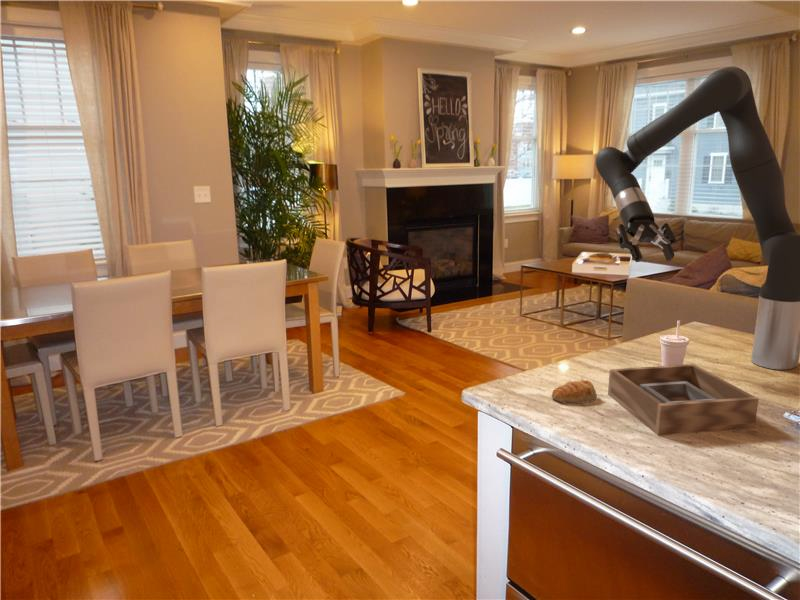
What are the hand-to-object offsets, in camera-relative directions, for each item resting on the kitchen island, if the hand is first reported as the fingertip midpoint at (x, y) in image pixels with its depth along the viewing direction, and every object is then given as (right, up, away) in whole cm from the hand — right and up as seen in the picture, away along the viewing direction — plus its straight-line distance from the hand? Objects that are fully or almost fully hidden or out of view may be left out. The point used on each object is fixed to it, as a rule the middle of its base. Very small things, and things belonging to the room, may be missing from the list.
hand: (655, 259), depth 143 cm
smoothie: (+2, -29, -4) cm, 29 cm away
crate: (-6, -33, -23) cm, 40 cm away
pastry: (-25, -32, -15) cm, 43 cm away
